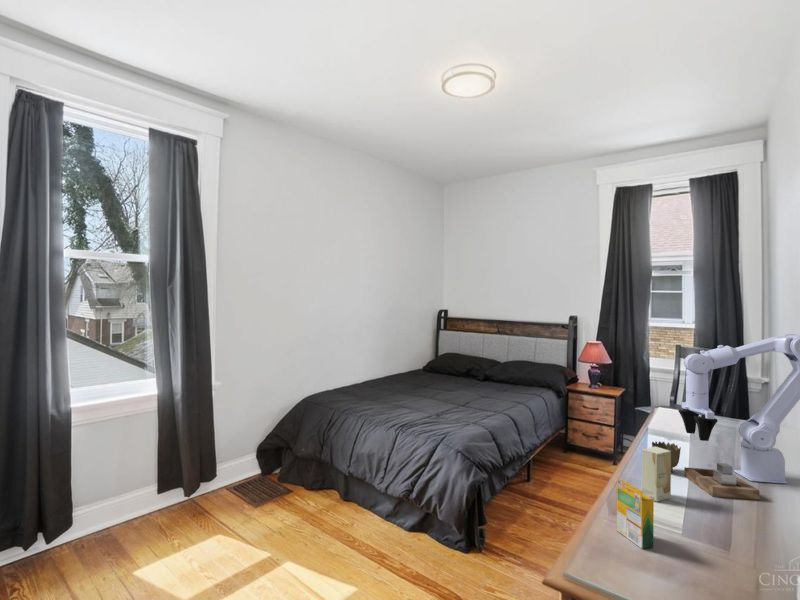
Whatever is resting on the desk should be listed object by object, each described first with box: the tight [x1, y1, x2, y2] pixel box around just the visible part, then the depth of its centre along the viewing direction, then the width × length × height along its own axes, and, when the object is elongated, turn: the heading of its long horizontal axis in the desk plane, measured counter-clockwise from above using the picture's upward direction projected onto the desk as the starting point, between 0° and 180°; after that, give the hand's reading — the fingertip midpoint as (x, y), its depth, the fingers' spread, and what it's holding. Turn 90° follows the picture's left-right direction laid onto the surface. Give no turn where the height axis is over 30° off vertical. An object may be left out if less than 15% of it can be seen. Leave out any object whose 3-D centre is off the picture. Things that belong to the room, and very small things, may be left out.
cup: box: [651, 441, 682, 473], centre depth 127 cm, size 8×7×8 cm
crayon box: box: [616, 477, 655, 550], centre depth 88 cm, size 7×3×12 cm, turn 12°
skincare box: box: [640, 446, 672, 502], centre depth 109 cm, size 6×4×12 cm
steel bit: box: [712, 462, 737, 487], centre depth 113 cm, size 4×4×7 cm
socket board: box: [683, 467, 760, 501], centre depth 115 cm, size 11×14×2 cm
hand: (697, 436), depth 129 cm, fingers open, 7 cm apart
